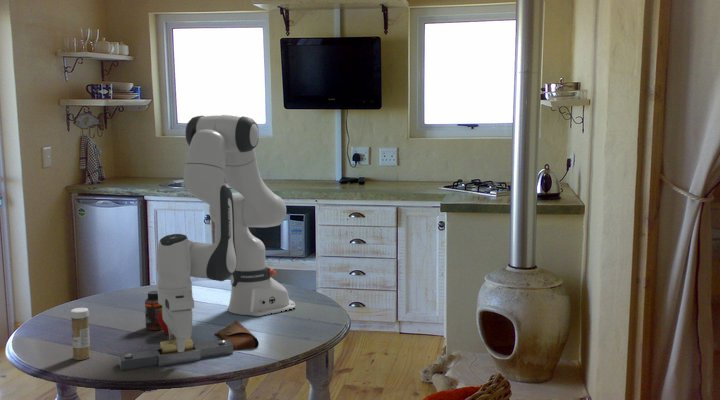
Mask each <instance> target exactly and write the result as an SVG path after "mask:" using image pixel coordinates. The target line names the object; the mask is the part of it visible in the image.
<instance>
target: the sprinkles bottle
mask: <svg viewBox="0 0 720 400" xmlns="http://www.w3.org/2000/svg"><path fill="white" fill-rule="evenodd" d="M69 315H70V318H71V339H72V341H71V342H72V343H71V345H72V359H73V360H74V361H75V360H76V361H83V360H86V359H89V358H90V357H91V353H90V352H91V351H90V350H91V349H90V344H91V343H90V340H91V339H90V326H89V325H90V324H89V316H90V311H89V309H88V308H87V307H76V308H73V309H71V310H70V313H69Z"/></svg>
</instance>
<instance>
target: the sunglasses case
mask: <svg viewBox="0 0 720 400" xmlns="http://www.w3.org/2000/svg"><path fill="white" fill-rule="evenodd" d="M213 335H214V336H215V337H217V338H218V339H219V340H227V339H228V340H229V341H230V342H231V343H232V344H233V352H235V351H243V350H248V349H250V350H251V349H257V348H258V347H259V344H260V343H259V340H258V339H257V337H256V336H254V334H252V332H250V331H249V329H247V328H246V327H245V326H244V325H243V324H241V323H240V322H239V321H238V320H237V319H235V320H234V321H233V322H232V323H231V324H229V325H227V326H225V327H224V328H221V329H220V330H218V331H217V332H215V333H214V334H213Z"/></svg>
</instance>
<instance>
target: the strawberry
mask: <svg viewBox="0 0 720 400" xmlns="http://www.w3.org/2000/svg"><path fill="white" fill-rule="evenodd" d="M159 310H161V311H159V313H158V314H157V320H158V323H159V325H160V327H161V328H162V329H161V330H162V331H163V332H164V334H165V335H168V336H169V332H168V327H167V325H166V323H165V322H164V321H163V318H162V308H160V309H159Z"/></svg>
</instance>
